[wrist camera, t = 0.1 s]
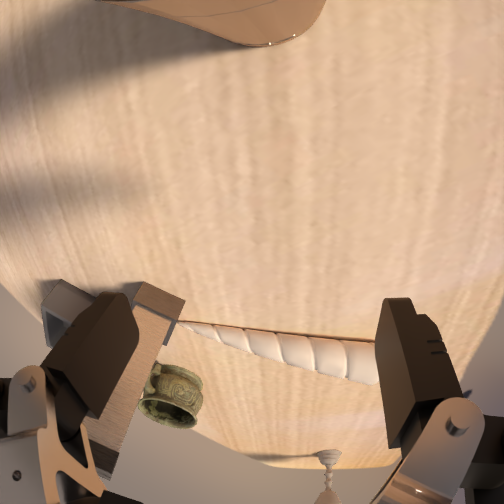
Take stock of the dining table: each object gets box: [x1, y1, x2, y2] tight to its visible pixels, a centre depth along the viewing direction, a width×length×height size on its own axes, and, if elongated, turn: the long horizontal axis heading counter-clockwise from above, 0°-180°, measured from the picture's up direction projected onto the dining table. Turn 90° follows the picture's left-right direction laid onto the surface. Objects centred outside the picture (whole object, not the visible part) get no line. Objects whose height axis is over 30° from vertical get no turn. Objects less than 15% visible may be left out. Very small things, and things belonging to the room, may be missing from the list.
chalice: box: [314, 450, 342, 504], centre depth 46 cm, size 7×7×18 cm
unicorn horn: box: [177, 322, 379, 385], centre depth 32 cm, size 5×24×5 cm, turn 80°
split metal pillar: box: [82, 282, 185, 481], centre depth 26 cm, size 5×5×20 cm
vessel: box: [138, 363, 203, 429], centre depth 40 cm, size 12×9×6 cm
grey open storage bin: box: [41, 279, 96, 349], centre depth 36 cm, size 9×9×5 cm
